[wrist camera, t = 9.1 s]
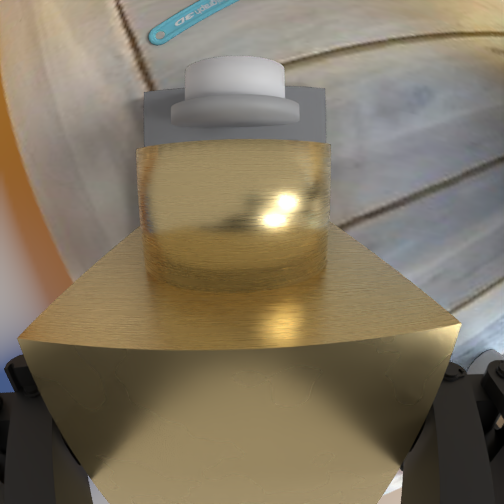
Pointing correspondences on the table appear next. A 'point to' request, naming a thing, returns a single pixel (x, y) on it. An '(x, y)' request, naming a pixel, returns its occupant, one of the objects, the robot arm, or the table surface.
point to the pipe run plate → (234, 105)
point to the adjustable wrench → (187, 19)
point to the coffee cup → (481, 365)
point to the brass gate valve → (239, 340)
